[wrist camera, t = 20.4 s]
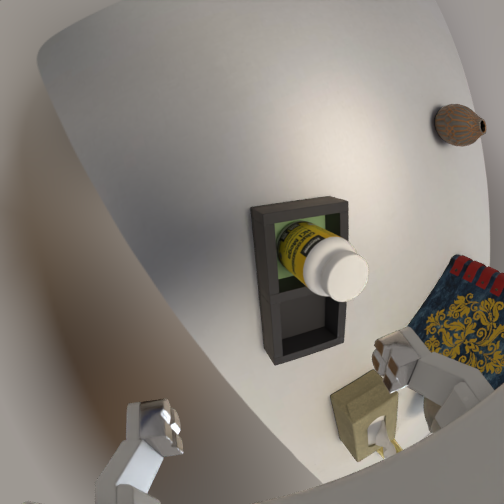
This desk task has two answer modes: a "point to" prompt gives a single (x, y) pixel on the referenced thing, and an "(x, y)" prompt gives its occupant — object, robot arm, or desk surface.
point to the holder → (295, 282)
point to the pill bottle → (322, 261)
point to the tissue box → (366, 416)
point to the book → (466, 317)
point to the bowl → (431, 414)
